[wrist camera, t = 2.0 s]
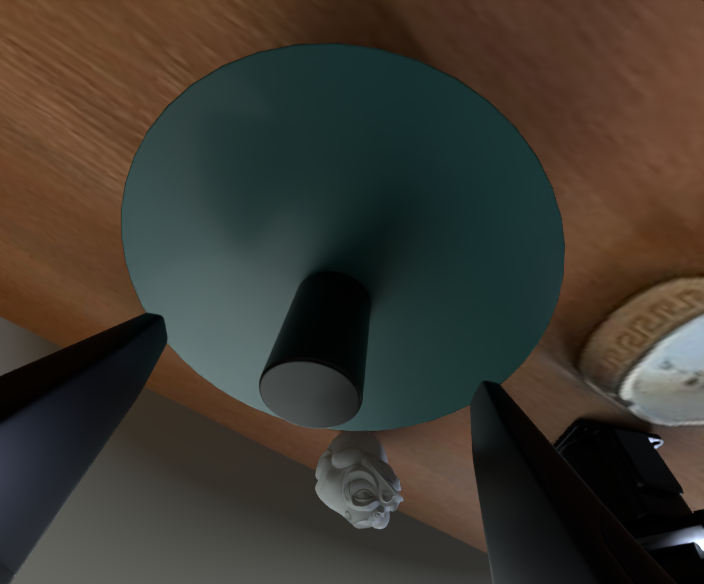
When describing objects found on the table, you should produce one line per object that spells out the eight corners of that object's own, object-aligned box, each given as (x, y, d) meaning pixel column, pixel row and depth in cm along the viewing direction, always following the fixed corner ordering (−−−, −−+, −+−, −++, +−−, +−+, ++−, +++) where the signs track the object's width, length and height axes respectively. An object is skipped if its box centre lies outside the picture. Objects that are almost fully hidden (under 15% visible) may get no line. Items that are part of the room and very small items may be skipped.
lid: (658, 109, 9) (910, 154, 4) (459, 435, 17) (482, 560, 13) (94, -12, 8) (-203, -85, 4) (169, 377, 17) (93, 485, 12)
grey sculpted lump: (414, 445, 29) (419, 540, 23) (343, 461, 32) (332, 550, 26) (382, 402, 27) (379, 496, 21) (308, 422, 29) (286, 512, 23)
